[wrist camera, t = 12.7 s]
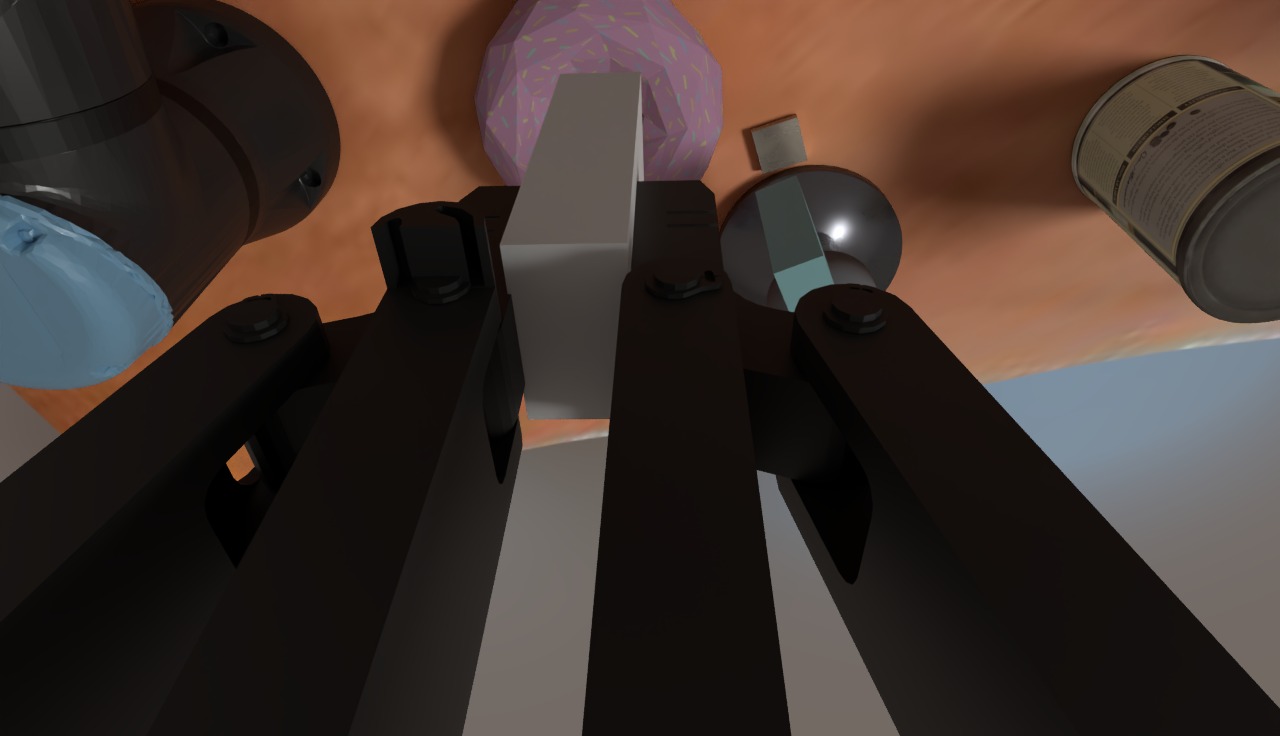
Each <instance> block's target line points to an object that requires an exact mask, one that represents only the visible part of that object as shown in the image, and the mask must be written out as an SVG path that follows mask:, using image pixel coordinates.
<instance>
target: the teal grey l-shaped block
mask: <svg viewBox="0 0 1280 736" xmlns="http://www.w3.org/2000/svg"><path fill="white" fill-rule="evenodd" d="M755 193H756V198H757V202H758V207H759V211H760V215H761V220H762V224H763V229H764V233H765V238H766V242H767V247H768V251H769V256H770V260H771V265H772V269H773V274H774V276H775V277H774V279H773V280H772V282H771V284H770V287H769V290H768V293H767V307H770V308H774V309H779V310H785V311H790V312H794V311H795V308H796V305H797V303H798V301H799V298H801V297H802V296H804V295H805V294H806V293H808V292H809V291H811V290H812V289H816V288H819V287H823V286H827V285H830V284H847V283H854V284H860V285H868V286H872V287H875V288H876V285H875V283H874V280H873V278H872V276H871V273H870V272H869V270H868V269H867V267H866V266H865V265H864V264H863V263H862V262H861V261H859V260H858V259H856V258H855V257H853V256H851V255H849V254H846V253H842V252H838V251H823V248H822V245H821V243H820V240H819V237H818V234H817V231H816V228H815V226H814V223H813V220H812V217H811V214H810V212H809V209H808V206H807V203H806V200H805V198H804V195H803V192H802V189H801V186H800V184H799V181H798V178H797V176H796V175H795V176H793V177H790V178H788V179H785V180H783V181H781V182H778V183H776V184H773V185H771V186H768V187H766V188H763V189H761V190H758V191H756V192H755Z"/></svg>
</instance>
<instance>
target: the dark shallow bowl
mask: <svg viewBox="0 0 1280 736" xmlns="http://www.w3.org/2000/svg"><path fill="white" fill-rule="evenodd" d="M751 132H752V136H753V139H754V143H755V147H756V151H757V154H758V158H759V162H760V165H761V169H762V173H763V174H764V173H768V172H771V171H774V170H777V169H780V168H783V167H786V166H790V165H793V164H796V163H799V162H802V161H805V160H807V156H806V152H805V148H804V144H803V139H802V135H801V131H800V126H799V122H798V118H797V115H796V114H795V115H792V116H789V117H786V118H783V119H780V120H777V121H774V122H771V123H768V124H765V125H761V126H758V127H755V128H752V129H751ZM795 175H796V176H797V178H798V181H799V184H800V186H801V189H802V192H803V195H804V198H805V200H806V203H807V206H808V209H809V212H810V214H811V217H812V220H813V223H814V226H815V228H816V231H817V234H818V237H819V240H820V243H821V245H822V248H823V251H838V252H842V253H846V254H849V255H851V256H853V257H855V258H856V259H858V260H859V261H861V262H862V263H863V264H864V265H865V266H866V267H867V269H868V270H869V272H870V273H871V276H872V278H873V280H874V283H875V285H876V288H878V289H880V290H883V291H886V289H887V288H888V286H889V285H890V283H891V281H892V280H893V278H894V276H895V274H896V271H897V268H898V266H899V263H900V258H901V254H902V233H901V229H900V224H899V221H898V219H897V216H896V214H895V212H894V210H893V208H892V206H891V204H890V203H889V201H888V200H887V198H886V197H885V195H884V194H883V193H882V192H881V191H880V189H879V188H878V187H877V186H875V185H874V184H873V183H872V182H871V181H869V180H868V179H866V178H864V177H863V176H861V175H859V174H857V173H855V172H852V171H850V170H847V169H843V168H839V167H835V166H826V165H809V166H801V167H796V168H792V169H788V170H784V171H782V172H779V173H776V174H774V175H772V176H770V177H768V178H766V179H764V180H762V181H761V182H759V183H758V184H756V185H755V186H753V187H752V188H751V189H750V190H748V191H747V192H746V193H745V194H744V195H743V196H742V197H741V198H740V199H739V200H738V201H737V202H736V203H735V204H734V206H733V207H732V209H731V210H730V212H729V213H728V214H727V216H726V218H725V220H724V222H723V224H722V227H721V229H720V232H719V235H720V243H721V251H722V259H723V267H724V271H725V272H726V273H727V275H728V277H729V279H730V281H731V283H732V287H733V291H734V292H736V293H737V294H739V295H740V296H742V297H743V298H745V299H747V300H749V301H751V302H754V303H756V304H758V305H762V306H766V307H767V293H768V290H769V287H770V284H771V282H772V280H773V279H774V277H775V276H774V274H773V269H772V265H771V260H770V256H769V251H768V247H767V242H766V238H765V233H764V229H763V224H762V220H761V215H760V211H759V207H758V202H757V198H756V193H755V192H756V191H758V190H761V189H763V188H766V187H768V186H771V185H773V184H776V183H778V182H781V181H783V180H785V179H788V178H790V177H793V176H795Z"/></svg>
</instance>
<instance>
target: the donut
mask: <svg viewBox="0 0 1280 736" xmlns="http://www.w3.org/2000/svg"><path fill="white" fill-rule="evenodd" d="M612 72H641V94H642V113H643V115H644V118H643V124H642V130H643V165H644V181H676V180H701V178H702V176H703V175H704V173H705V171H706V169H707V168H708V166H709V163H710V160H711V157H712V155H713V152H714V149H715V146H716V144H717V141H718V138H719V136H720V133H721V130H722V127H723V102H722V68H721V67H720V65H719V64H718V62H717V61H716V59H715V58H714V56H713V55H712V53H711V52H710V50H709V49H708V47H707V45H706V44H705V42H704V41H703V39H702V37H701V35H700V33H699V32H698V31H697V30H696V29H695V28H694V27H693V26H692V25H691V24H690V23H689V22H688V21H687V20H686V19H685V18H684V17H683V16H682V15H681V13H680V12H679V11H678V10H677V9H676V8H675V7H674V6H673V4H672V3H671V2H670V1H669V0H518V1H517V3H516V4H515V6H514V7H513V9H512V10H511V12H510V13H509V15H508V16H507V18H506V19H505V21H504V22H503V24H502V25H501V27H500V28H499V30H498V31H497V33H496V34H495V36H494V37H493V39H492V40H491V41H490V42H489V44H488V46H487V47H486V51H485V55H484V59H483V62H482V66H481V70H480V74H479V78H478V82H477V86H476V90H475V94H474V101H475V106H476V111H477V116H478V121H479V126H480V132H481V137H482V142H483V147H484V150H485V152H486V154H487V156H488V157H489V159H490V161H491V163H492V164H493V166H494V167H495V169H496V170H497V172H498V173H499V175H500V176H501V178H502V179H503V181H504V182H505V184H506V185H507V186H521V183H522V181H523V178H524V175H525V172H526V169H527V167H528V164H529V161H530V158H531V155H532V152H533V150H534V147H535V144H536V141H537V138H538V135H539V133H540V130H541V127H542V124H543V121H544V118H545V116H546V113H547V110H548V107H549V104H550V101H551V99H552V96H553V93H554V90H555V87H556V84H557V82H558V79H559V76H560V74H569V73H612Z"/></svg>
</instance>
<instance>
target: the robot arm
mask: <svg viewBox="0 0 1280 736" xmlns="http://www.w3.org/2000/svg"><path fill="white" fill-rule="evenodd" d="M339 160H340V135H339V129H338V124H337V120H336V116H335V113H334V110H333V107H332V105H331V102H330V100H329V97H328V95H327V93H326V91H325V89H324V88H323V86H322V84H321V82H320V81H319V79H318V77H317V76H316V74H315V73H314V71H313V70H312V69H311V67H310V66H309V65H308V63H307V62H306V61H305V60H304V58H303V57H302V56H301V55H300V54H299V53H298V52H297V51H296V50H295V48H293V47H292V46H291V45H290V44H289V43H288V42H287V41H286V40H285V39H284V38H283V37H282V36H280V35H279V34H278V33H277V32H276V31H274V30H273V29H272V28H270V27H269V26H267V25H266V24H265V23H263V22H262V21H260V20H258V19H257V18H255V17H253V16H252V15H250V14H248V13H246V12H244V11H242V10H240V9H238V8H236V7H233V6H231V5H228V4H226V3H223V2H220V1H216V0H146V1H144V2H141V3H139V4H137V5H134V6H131V3H130V0H0V383H4V384H9V385H13V386H19V387H25V388H33V389H51V390H65V389H75V388H82V387H87V386H91V385H95V384H98V383H101V382H104V381H107V380H109V379H111V378H113V377H115V376H116V375H118V374H120V373H121V372H123V371H124V370H125V369H127V368H128V367H129V366H130V365H131V364H132V363H133V362H135V361H136V360H137V359H138V358H139V357H140V356H141V355H142V354H143V353H144V352H145V351H146V350H147V349H149V348H150V347H152V346H154V345H156V344H158V343H159V342H161V341H162V339H163V338H164V337H166V336H167V334H168V333H169V331H170V330H171V328H172V327H173V326H174V325H175V323H176V322H177V321H178V320H179V319H180V318H181V316H182V315H183V314H184V313H185V312H186V311H187V309H188V308H189V307H190V306H191V305H192V304H193V302H194V301H195V300H196V299H197V298H198V296H199V295H200V294H201V293H202V292H203V291H204V289H205V288H206V287H207V286H208V285H209V284H210V282H211V281H212V280H213V279H214V278H215V277H216V275H217V274H218V273H219V272H220V271H221V270H222V268H223V267H224V266H225V265H226V264H227V263H228V261H229V260H230V259H231V258H232V257H233V256H234V254H235V253H236V252H237V251H238V250H239V249H240V248H241V247H242V246H243V245H246V244H248V243H251V242H254V241H257V240H260V239H263V238H266V237H269V236H272V235H275V234H278V233H280V232H283V231H285V230H287V229H289V228H291V227H293V226H295V225H296V224H298V223H299V222H301V221H302V220H303V219H305V218H306V217H307V216H308V215H309V214H310V213H311V212H312V211H313V210H314V209H315V208H316V206H317V205H318V204H319V203H320V202H321V200H322V199H323V198H324V197H325V195H326V194H327V192H328V191H329V189H330V188H331V186H332V184H333V182H334V179H335V177H336V174H337V171H338V166H339ZM371 231H372V234H373V238H374V241H375V245H376V249H377V252H378V256H379V260H380V263H381V267H382V271H383V274H384V278H385V281H386V285H387V291H386V292H385V294H384V296H383V298H382V300H381V302H380V303H379V305H378V307H377V309H376V311H375V312H374V313H370V314H366V315H362V316H358V317H353V318H348V319H343V320H338V321H332V322H327V323H322V321H321V319H320V316H319V313H318V310H317V307H316V306H315V305H314V304H313V303H312V302H311V301H310V300H309V299H307V298H304V297H300V296H297V295H293V294H263V295H261V296H258V295H257V296H252V297H248V298H245V299H244V300H243V301H240V302H238V303H235V304H232V305H230V306H227V307H226V308H224V309H222V310H221V311H219V312H217V313H216V314H214V315H212V316H211V317H209V318H208V319H207V320H205V321H204V322H203V323H202V324H200V325H199V326H198V327H197V328H195V329H194V330H193V331H192V332H190V333H189V334H188V335H186V336H185V337H184V338H183V339H181V340H180V341H179V342H178V343H176V344H175V345H174V346H173V347H171V348H170V349H169V350H168V351H166V352H165V353H164V354H162V355H161V356H160V357H159V358H157V359H156V360H155V361H154V362H152V363H151V364H150V365H149V366H147V367H146V368H145V369H144V370H142V371H141V372H140V373H138V374H137V375H136V376H135V377H133V378H132V379H131V380H130V381H128V382H127V383H126V384H125V385H123V386H122V387H121V388H120V389H118V390H117V391H116V392H114V393H113V394H112V395H111V396H109V397H108V398H107V399H106V400H104V401H103V402H102V403H101V404H99V405H98V406H97V407H95V408H94V409H93V410H92V411H90V412H89V413H88V414H87V415H85V416H84V417H83V418H82V419H80V420H79V421H78V422H77V423H75V424H74V425H73V426H71V427H70V428H69V429H68V430H66V431H65V432H64V433H63V434H61V435H60V436H59V437H58V438H56V439H55V440H54V441H53V442H51V443H50V444H49V445H48V446H46V447H45V448H44V449H42V450H41V451H40V452H39V453H37V454H36V455H35V456H34V457H32V458H31V459H30V460H29V461H27V462H26V463H25V464H24V465H23V466H21V467H20V468H19V469H17V470H16V471H15V472H13V473H12V474H11V475H10V476H8V477H7V478H6V479H5V480H3V481H2V482H1V483H0V736H462V733H463V729H464V724H465V719H466V714H467V709H468V705H469V699H470V695H471V690H472V685H473V680H474V676H475V671H476V666H477V661H478V656H479V652H480V647H481V642H482V637H483V633H484V627H485V623H486V618H487V613H488V609H489V604H490V599H491V594H492V589H493V585H494V580H495V575H496V570H497V565H498V560H499V556H500V551H501V546H502V541H503V536H504V532H505V527H506V522H507V517H508V513H509V508H510V503H511V498H512V493H513V488H514V484H515V479H516V474H517V469H518V465H519V459H520V455H521V450H522V433H521V427H520V421H519V416H518V414H519V409H520V405H521V401H522V396H523V392H524V398H525V404H526V411H527V417H528V419H610V424H609V435H608V447H607V458H606V469H605V481H604V492H603V503H602V514H601V526H600V537H599V548H598V560H597V571H596V583H595V594H594V605H593V617H592V628H591V639H590V651H589V662H588V673H587V684H586V697H585V707H584V719H583V730H582V736H791V729H790V723H789V714H788V706H787V699H786V691H785V683H784V676H783V668H782V661H781V654H780V645H779V638H778V631H777V622H776V615H775V607H774V600H773V592H772V585H771V578H770V569H769V562H768V554H767V547H766V539H765V532H764V523H763V516H762V508H761V501H760V493H759V485H758V478H757V470H759V471H763V472H767V473H771V474H775V475H776V479H777V483H778V488H779V491H780V492H781V495H782V496H783V499H784V500H785V503H786V505H787V507H788V509H789V511H790V513H791V515H792V517H793V519H794V521H795V523H796V525H797V527H798V529H799V531H800V533H801V535H802V537H803V539H804V541H805V543H806V545H807V547H808V549H809V551H810V554H811V556H812V558H813V560H814V561H815V564H816V566H817V568H818V570H819V572H820V574H821V576H822V578H823V580H824V582H825V584H826V586H827V588H828V590H829V592H830V594H831V596H832V598H833V600H834V602H835V604H836V606H837V608H838V610H839V612H840V614H841V617H842V618H843V620H844V623H845V625H846V627H847V629H848V631H849V633H850V635H851V637H852V639H853V641H854V643H855V645H856V647H857V649H858V651H859V653H860V655H861V657H862V659H863V661H864V663H865V665H866V667H867V669H868V671H869V673H870V675H871V678H872V680H873V682H874V684H875V685H876V688H877V690H878V692H879V694H880V696H881V698H882V700H883V702H884V704H885V706H886V708H887V710H888V712H889V714H890V716H891V718H892V720H893V722H894V724H895V726H896V728H897V730H898V732H899V734H900V736H1280V708H1279V707H1278V706H1277V705H1276V704H1275V703H1274V702H1273V701H1272V700H1271V698H1270V697H1269V696H1268V695H1267V694H1266V693H1265V692H1264V691H1263V690H1262V689H1261V688H1260V686H1259V685H1258V684H1257V683H1256V682H1255V681H1254V680H1253V679H1252V678H1251V677H1250V676H1249V675H1248V673H1247V672H1246V671H1245V670H1244V669H1243V668H1242V667H1241V666H1240V665H1239V664H1238V663H1237V661H1236V660H1235V659H1234V658H1233V657H1232V656H1231V655H1230V654H1229V653H1228V652H1227V651H1226V650H1225V648H1224V647H1223V646H1222V645H1221V644H1220V643H1219V642H1218V641H1217V640H1216V639H1215V638H1214V636H1213V635H1212V634H1211V633H1210V632H1209V631H1208V630H1207V629H1206V628H1205V627H1204V626H1203V625H1202V623H1201V622H1200V621H1199V620H1198V619H1197V618H1196V617H1195V616H1194V615H1193V614H1192V613H1191V611H1190V610H1189V609H1188V608H1187V607H1186V606H1185V605H1184V604H1183V603H1182V602H1181V601H1180V600H1179V598H1178V597H1177V596H1176V595H1175V594H1174V593H1173V592H1172V591H1171V590H1170V589H1169V588H1168V587H1167V585H1166V584H1165V583H1164V582H1163V581H1162V580H1161V579H1160V578H1159V577H1158V576H1157V575H1156V573H1155V572H1154V571H1153V570H1152V569H1151V568H1150V567H1149V566H1148V565H1147V564H1146V563H1145V562H1144V560H1143V559H1142V558H1141V557H1140V556H1139V555H1138V554H1137V553H1136V552H1135V551H1134V550H1133V549H1132V547H1131V546H1130V545H1129V544H1128V543H1127V542H1126V541H1125V540H1124V539H1123V538H1122V536H1121V535H1120V534H1119V533H1118V532H1117V531H1116V530H1115V529H1114V528H1113V527H1112V526H1111V525H1110V523H1109V522H1108V521H1107V520H1106V519H1105V518H1104V517H1103V516H1102V515H1101V514H1100V513H1099V512H1098V510H1097V509H1096V508H1095V507H1094V506H1093V505H1092V504H1091V503H1090V502H1089V501H1088V500H1087V499H1086V497H1085V496H1084V495H1083V494H1082V493H1081V492H1080V491H1079V490H1078V489H1077V488H1076V487H1075V486H1074V484H1073V483H1072V482H1071V481H1070V480H1069V479H1068V478H1067V477H1066V476H1065V475H1064V473H1063V472H1061V470H1060V469H1059V468H1058V467H1057V466H1056V465H1055V464H1054V463H1053V462H1052V461H1051V459H1050V458H1049V457H1048V456H1047V455H1046V454H1045V453H1044V452H1043V451H1042V450H1041V448H1040V447H1039V446H1038V445H1037V444H1036V443H1035V442H1034V441H1033V440H1032V439H1031V438H1030V436H1029V435H1028V434H1027V433H1026V432H1025V431H1024V430H1023V429H1022V428H1021V427H1020V426H1019V425H1018V424H1017V422H1015V420H1014V419H1013V418H1012V417H1011V416H1010V415H1009V414H1008V413H1007V412H1006V410H1005V409H1004V408H1003V407H1002V406H1001V405H1000V404H999V403H998V402H997V401H996V400H995V398H994V397H993V396H992V395H991V394H990V393H989V392H988V391H987V390H986V389H985V388H984V386H983V385H982V384H981V383H980V382H979V381H978V380H977V379H976V378H975V377H974V376H973V375H972V373H971V372H970V371H969V370H968V369H967V368H966V367H965V366H964V365H963V364H962V363H961V362H960V360H959V359H958V358H957V357H956V356H955V355H954V354H953V353H952V352H951V351H950V350H949V348H948V347H947V346H946V345H945V344H944V343H943V342H942V341H941V340H940V339H939V338H938V337H937V335H936V334H935V333H934V332H933V331H932V330H931V329H930V328H929V327H928V326H927V325H926V323H925V322H924V321H923V320H922V319H921V318H920V317H919V316H918V315H917V314H916V313H915V312H914V310H913V309H912V308H911V307H910V306H909V305H907V304H906V303H905V302H903V301H902V300H901V299H899V298H898V297H897V296H895V295H893V294H891V293H888V292H885V291H883V290H880V289H878V288H875V287H872V286H868V285H860V284H854V283H847V284H830V285H827V286H823V287H819V288H816V289H812V290H811V291H809V292H808V293H806V294H805V295H804V296H802V297H801V298H799V301H798V303H797V305H796V308H795V311H794V312H790V311H785V310H779V309H774V308H770V307H766V306H762V305H758V304H756V303H754V302H751V301H749V300H747V299H745V298H743V297H742V296H740V295H739V294H737V293H736V292H734V291H733V287H732V283H731V281H730V279H729V277H728V275H727V273H726V272H725V271H724V267H723V259H722V251H721V243H720V235H719V227H718V219H717V213H716V203H715V195H714V193H713V192H712V191H711V190H710V189H709V188H707V187H706V186H705V185H704V184H703V183H702V182H701V181H700V180H676V181H644V165H643V130H642V94H641V72H612V73H569V74H560V76H559V79H558V82H557V84H556V87H555V90H554V93H553V96H552V99H551V101H550V104H549V107H548V110H547V113H546V116H545V118H544V121H543V124H542V127H541V130H540V133H539V135H538V138H537V141H536V144H535V147H534V150H533V152H532V155H531V158H530V161H529V164H528V167H527V169H526V172H525V175H524V178H523V181H522V183H521V186H479V187H478V188H476V189H475V190H474V191H472V192H471V193H470V194H468V195H467V196H465V197H464V198H463V199H461V200H460V201H459V202H445V201H437V202H428V203H419V204H415V205H411V206H407V207H404V208H400V209H397V210H395V211H393V212H391V213H389V214H387V215H385V216H383V217H381V218H380V219H379V220H378V221H377V222H376V223H375V224H374V225H373V226H372V227H371ZM243 445H245V447H246V449H247V451H248V453H249V455H250V457H251V459H252V461H253V464H254V466H255V467H254V468H253V469H252V470H251V471H250V472H249V473H248V474H247V475H246V476H245V477H243V478H242V479H240V480H239V481H236V480H235V479H234V478H233V476H232V474H231V472H230V470H229V468H228V466H227V464H226V462H227V461H228V460H229V459H230V458H231V457H232V456H233V455H234V454H235V453H236V452H237V451H238V450H239V449H240V448H241V447H242V446H243Z"/></svg>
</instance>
